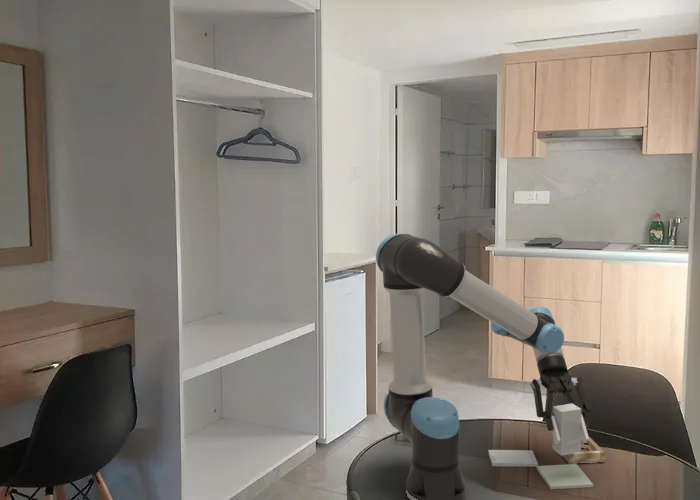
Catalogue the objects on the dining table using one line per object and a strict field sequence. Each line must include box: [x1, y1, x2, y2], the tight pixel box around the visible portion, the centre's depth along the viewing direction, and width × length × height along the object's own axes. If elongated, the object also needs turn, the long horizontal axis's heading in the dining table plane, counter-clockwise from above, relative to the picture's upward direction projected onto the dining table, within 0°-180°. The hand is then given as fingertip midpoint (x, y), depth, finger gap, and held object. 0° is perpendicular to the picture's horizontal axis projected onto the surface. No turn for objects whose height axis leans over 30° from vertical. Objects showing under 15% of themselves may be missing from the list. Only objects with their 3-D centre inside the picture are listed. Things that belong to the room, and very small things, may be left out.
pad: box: [536, 463, 594, 490], centre depth 173 cm, size 11×11×1 cm
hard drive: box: [487, 449, 539, 467], centre depth 184 cm, size 2×8×12 cm
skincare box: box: [552, 403, 582, 457], centre depth 171 cm, size 6×4×12 cm
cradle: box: [561, 436, 606, 465], centre depth 185 cm, size 10×10×3 cm
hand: (571, 441), depth 168 cm, fingers closed on skincare box, 7 cm apart
